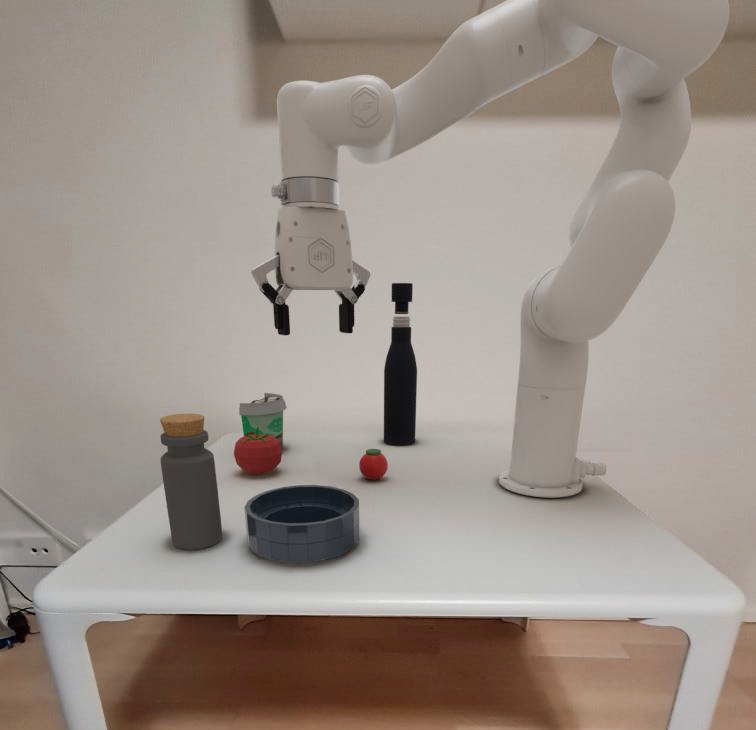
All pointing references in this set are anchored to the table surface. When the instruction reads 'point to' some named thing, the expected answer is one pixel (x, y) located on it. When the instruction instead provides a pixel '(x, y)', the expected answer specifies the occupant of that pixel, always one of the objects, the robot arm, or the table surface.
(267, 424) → the food container
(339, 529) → the bowl
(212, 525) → the bottle
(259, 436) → the tomato
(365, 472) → the cherry tomato
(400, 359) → the black water bottle
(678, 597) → the table surface
